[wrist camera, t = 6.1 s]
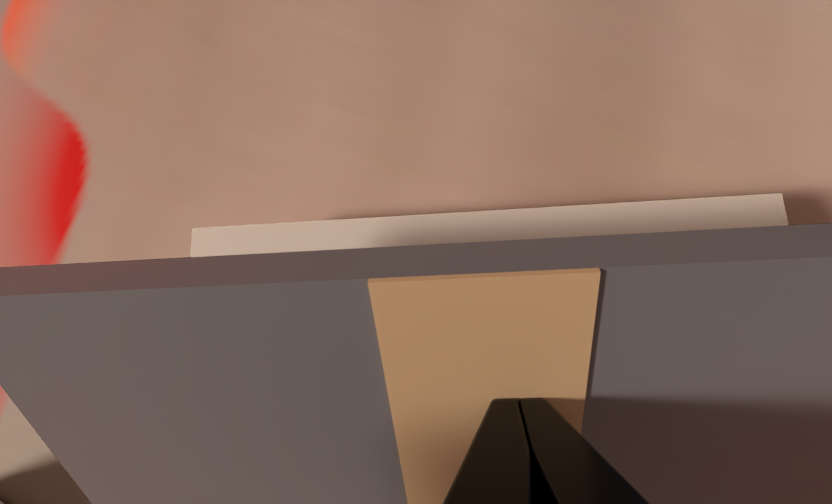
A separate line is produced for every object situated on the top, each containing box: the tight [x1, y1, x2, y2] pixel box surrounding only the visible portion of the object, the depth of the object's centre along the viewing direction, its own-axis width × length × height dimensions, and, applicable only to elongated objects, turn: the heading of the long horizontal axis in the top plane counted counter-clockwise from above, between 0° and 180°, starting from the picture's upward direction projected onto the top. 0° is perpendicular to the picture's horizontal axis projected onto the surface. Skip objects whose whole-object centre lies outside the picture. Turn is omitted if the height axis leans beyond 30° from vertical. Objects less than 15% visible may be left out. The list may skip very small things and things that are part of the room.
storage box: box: [190, 193, 788, 257], centre depth 14 cm, size 8×16×4 cm, turn 92°
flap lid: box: [0, 223, 832, 504], centre depth 9 cm, size 8×16×1 cm
